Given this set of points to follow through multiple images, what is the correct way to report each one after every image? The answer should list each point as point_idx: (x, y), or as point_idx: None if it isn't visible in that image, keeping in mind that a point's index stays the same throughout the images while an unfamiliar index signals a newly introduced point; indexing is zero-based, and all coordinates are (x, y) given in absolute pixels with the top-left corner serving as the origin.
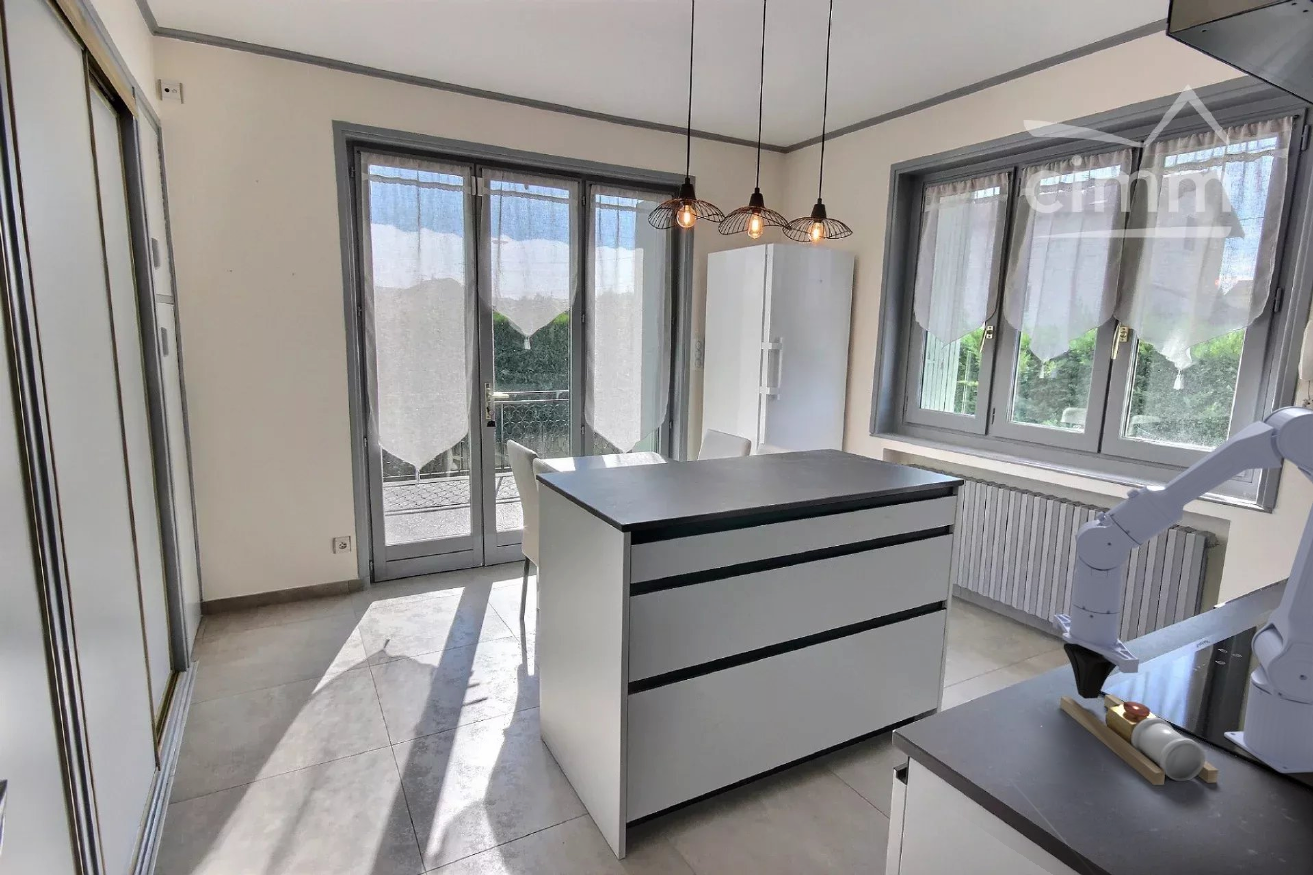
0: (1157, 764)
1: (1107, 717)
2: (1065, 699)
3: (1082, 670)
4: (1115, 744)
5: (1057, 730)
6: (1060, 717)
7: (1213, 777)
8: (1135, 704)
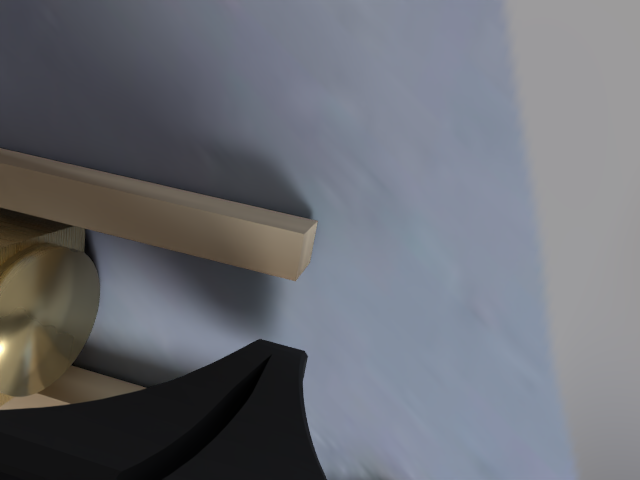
0: None
1: (18, 242)
2: (272, 231)
3: (156, 404)
4: None
5: (157, 36)
6: (250, 149)
7: None
8: None
